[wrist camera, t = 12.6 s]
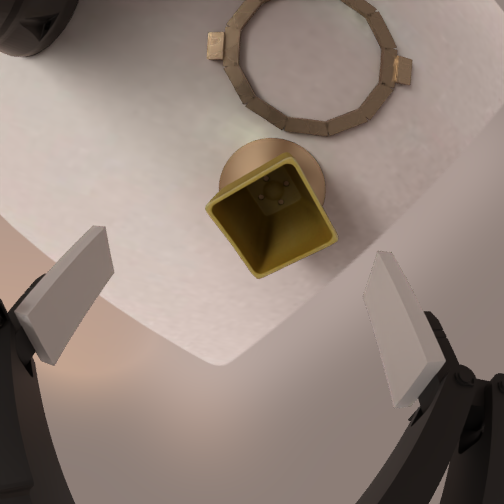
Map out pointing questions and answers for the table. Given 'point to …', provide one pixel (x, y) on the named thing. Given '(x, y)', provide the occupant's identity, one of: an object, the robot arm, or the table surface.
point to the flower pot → (272, 217)
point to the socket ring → (229, 52)
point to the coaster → (266, 151)
